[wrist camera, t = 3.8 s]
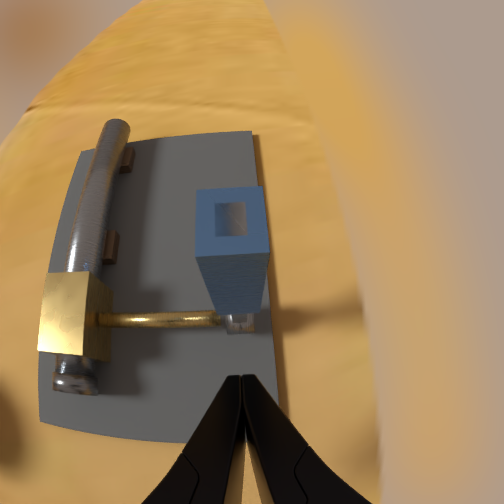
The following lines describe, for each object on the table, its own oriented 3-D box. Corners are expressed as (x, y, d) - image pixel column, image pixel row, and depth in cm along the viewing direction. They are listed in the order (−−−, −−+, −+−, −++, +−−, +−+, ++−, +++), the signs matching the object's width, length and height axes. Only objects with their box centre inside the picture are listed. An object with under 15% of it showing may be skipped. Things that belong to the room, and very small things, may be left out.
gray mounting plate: (280, 437, 17) (281, 439, 16) (44, 421, 16) (39, 421, 15) (251, 135, 28) (251, 130, 27) (83, 155, 27) (81, 151, 26)
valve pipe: (227, 399, 17) (222, 403, 14) (69, 390, 17) (37, 387, 13) (218, 132, 27) (215, 99, 23) (106, 146, 26) (94, 118, 23)
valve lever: (255, 335, 18) (270, 252, 7) (226, 337, 18) (194, 256, 7) (253, 304, 19) (262, 185, 8) (225, 306, 19) (196, 189, 8)
